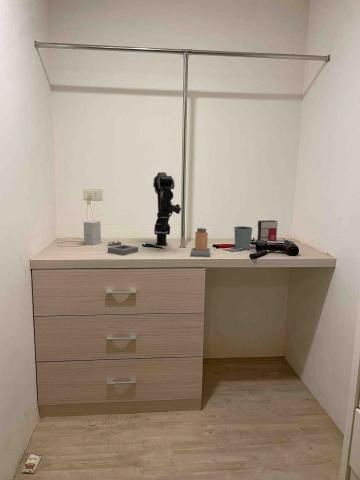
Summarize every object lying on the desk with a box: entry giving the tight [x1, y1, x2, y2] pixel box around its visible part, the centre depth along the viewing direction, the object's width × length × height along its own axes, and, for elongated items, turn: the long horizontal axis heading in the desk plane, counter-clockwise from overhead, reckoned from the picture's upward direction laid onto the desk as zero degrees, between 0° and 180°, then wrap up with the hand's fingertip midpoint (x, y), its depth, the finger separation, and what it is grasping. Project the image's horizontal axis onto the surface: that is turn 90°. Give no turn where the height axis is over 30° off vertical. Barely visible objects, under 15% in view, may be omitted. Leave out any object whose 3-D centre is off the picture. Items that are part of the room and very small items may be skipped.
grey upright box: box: [256, 219, 278, 243], centre depth 224 cm, size 11×4×15 cm, turn 105°
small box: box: [83, 220, 102, 246], centre depth 220 cm, size 8×6×13 cm
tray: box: [190, 247, 212, 258], centre depth 198 cm, size 10×10×2 cm
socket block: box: [107, 244, 139, 256], centre depth 196 cm, size 11×11×4 cm
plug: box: [194, 227, 209, 252], centre depth 197 cm, size 5×4×13 cm
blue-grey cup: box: [233, 225, 253, 250], centre depth 216 cm, size 10×10×12 cm
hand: (165, 228), depth 205 cm, fingers open, 9 cm apart
